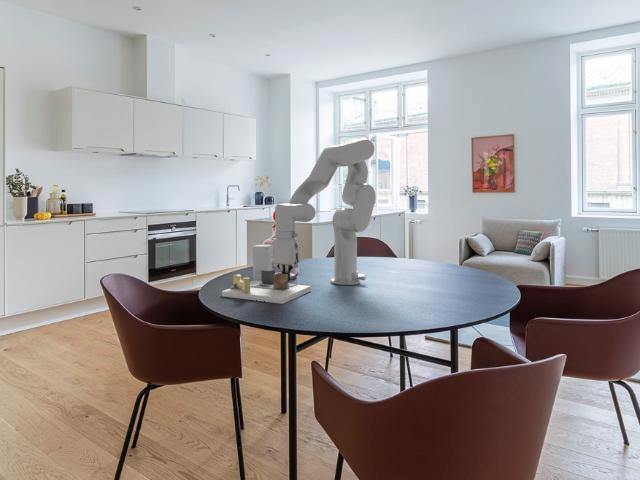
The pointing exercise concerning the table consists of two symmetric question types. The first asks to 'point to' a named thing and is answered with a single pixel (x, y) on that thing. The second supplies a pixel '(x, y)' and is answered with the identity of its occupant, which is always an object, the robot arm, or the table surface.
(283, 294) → the panel
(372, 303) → the table surface
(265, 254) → the skincare box
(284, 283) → the walnut slider
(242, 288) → the brass lever
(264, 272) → the gray slider
